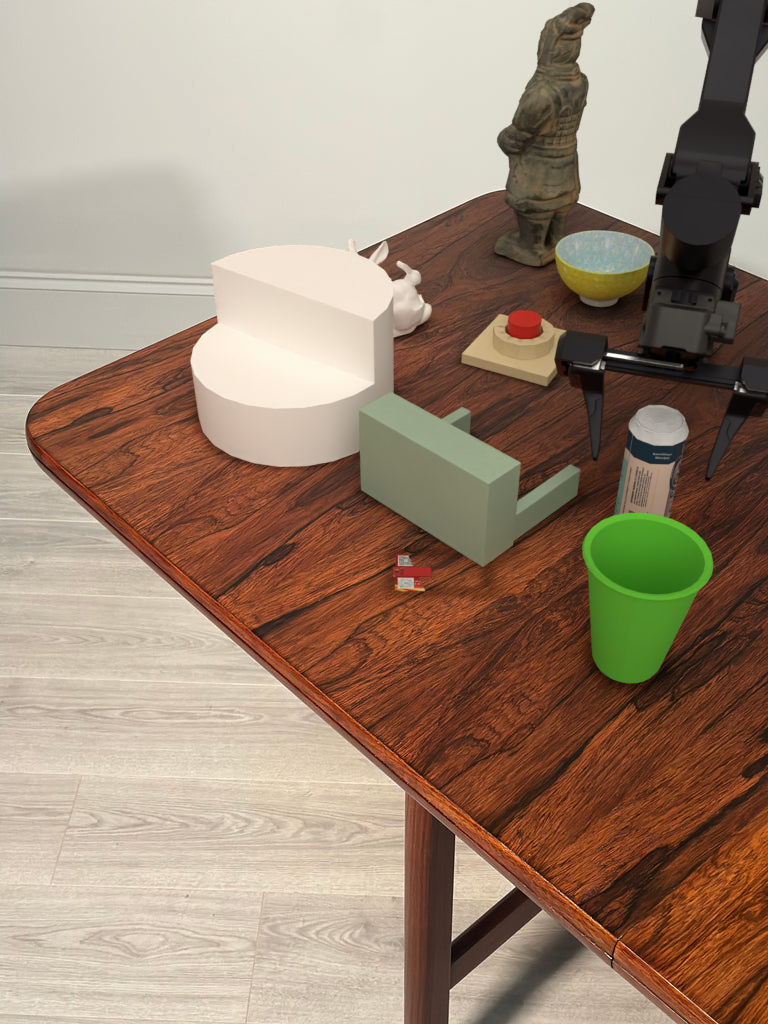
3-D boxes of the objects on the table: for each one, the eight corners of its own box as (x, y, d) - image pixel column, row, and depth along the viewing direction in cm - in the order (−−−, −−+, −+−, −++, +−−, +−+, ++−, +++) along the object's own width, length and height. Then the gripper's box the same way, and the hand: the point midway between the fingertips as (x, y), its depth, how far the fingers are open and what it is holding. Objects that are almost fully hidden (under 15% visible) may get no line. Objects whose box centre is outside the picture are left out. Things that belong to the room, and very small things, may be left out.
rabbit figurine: (334, 347, 116) (330, 268, 110) (321, 315, 122) (317, 237, 116) (437, 334, 118) (440, 255, 112) (420, 303, 124) (422, 226, 118)
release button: (515, 321, 115) (516, 307, 114) (545, 329, 114) (546, 314, 113) (501, 335, 113) (502, 321, 112) (532, 343, 112) (533, 329, 110)
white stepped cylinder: (157, 421, 105) (136, 303, 97) (284, 339, 118) (276, 228, 109) (311, 492, 96) (303, 369, 88) (431, 395, 109) (434, 278, 100)
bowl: (530, 294, 126) (534, 246, 122) (598, 267, 131) (604, 221, 127) (598, 332, 119) (605, 282, 115) (667, 302, 124) (675, 254, 120)
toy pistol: (392, 591, 86) (393, 551, 90) (392, 595, 86) (393, 555, 90) (488, 593, 86) (484, 552, 90) (488, 596, 86) (484, 556, 90)
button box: (499, 322, 120) (500, 299, 119) (580, 343, 117) (583, 320, 115) (461, 363, 114) (462, 338, 112) (546, 386, 110) (549, 362, 108)
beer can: (676, 543, 91) (701, 429, 83) (626, 553, 90) (647, 439, 82) (650, 509, 94) (673, 397, 86) (602, 519, 93) (620, 406, 85)
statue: (528, 227, 140) (550, -17, 121) (586, 248, 135) (618, -3, 116) (475, 254, 134) (488, 2, 115) (533, 277, 129) (558, 17, 110)
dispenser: (458, 430, 104) (462, 352, 98) (580, 496, 96) (591, 415, 90) (360, 490, 97) (358, 409, 91) (482, 567, 88) (488, 483, 83)
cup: (692, 632, 82) (719, 526, 75) (678, 718, 76) (706, 610, 69) (578, 606, 85) (595, 501, 78) (555, 687, 78) (571, 580, 71)
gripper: (570, 239, 82) (530, 433, 81) (821, 271, 77) (782, 476, 76) (576, 285, 93) (541, 456, 92) (797, 315, 88) (762, 496, 87)
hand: (650, 470), depth 86 cm, fingers open, 9 cm apart
